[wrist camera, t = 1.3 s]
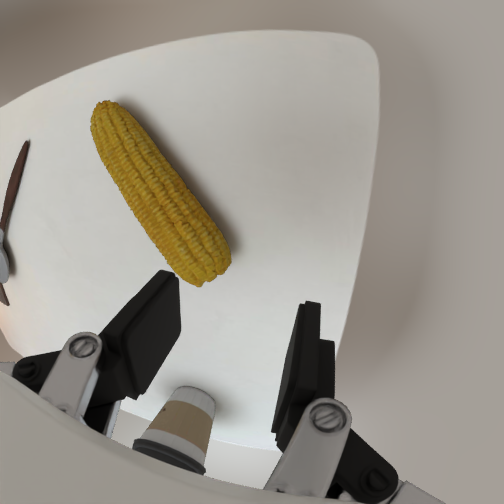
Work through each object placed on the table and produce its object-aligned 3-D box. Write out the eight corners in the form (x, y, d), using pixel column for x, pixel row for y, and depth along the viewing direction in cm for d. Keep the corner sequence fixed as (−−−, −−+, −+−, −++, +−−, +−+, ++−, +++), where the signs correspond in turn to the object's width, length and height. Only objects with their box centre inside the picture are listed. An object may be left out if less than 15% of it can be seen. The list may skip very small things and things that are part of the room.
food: (246, 247, 29) (230, 277, 24) (206, 272, 31) (185, 303, 26) (126, 89, 24) (88, 88, 19) (96, 125, 26) (59, 131, 21)
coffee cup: (165, 367, 41) (122, 443, 28) (234, 394, 40) (205, 478, 27) (164, 401, 46) (130, 465, 33) (221, 424, 45) (197, 492, 32)
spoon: (-13, 250, 42) (-22, 257, 39) (19, 120, 29) (5, 123, 26) (14, 284, 44) (5, 292, 42) (54, 159, 31) (40, 165, 29)
